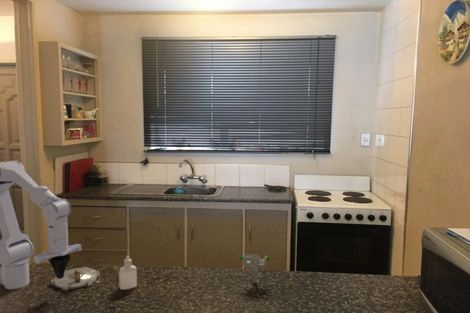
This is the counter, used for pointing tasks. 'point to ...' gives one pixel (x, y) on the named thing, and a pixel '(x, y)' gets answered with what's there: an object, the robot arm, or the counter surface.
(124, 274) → the eye dropper bottle
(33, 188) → the robot arm
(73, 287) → the tabbed shallow bowl
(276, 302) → the counter surface
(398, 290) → the counter surface
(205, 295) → the counter surface
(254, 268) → the mechanical component
